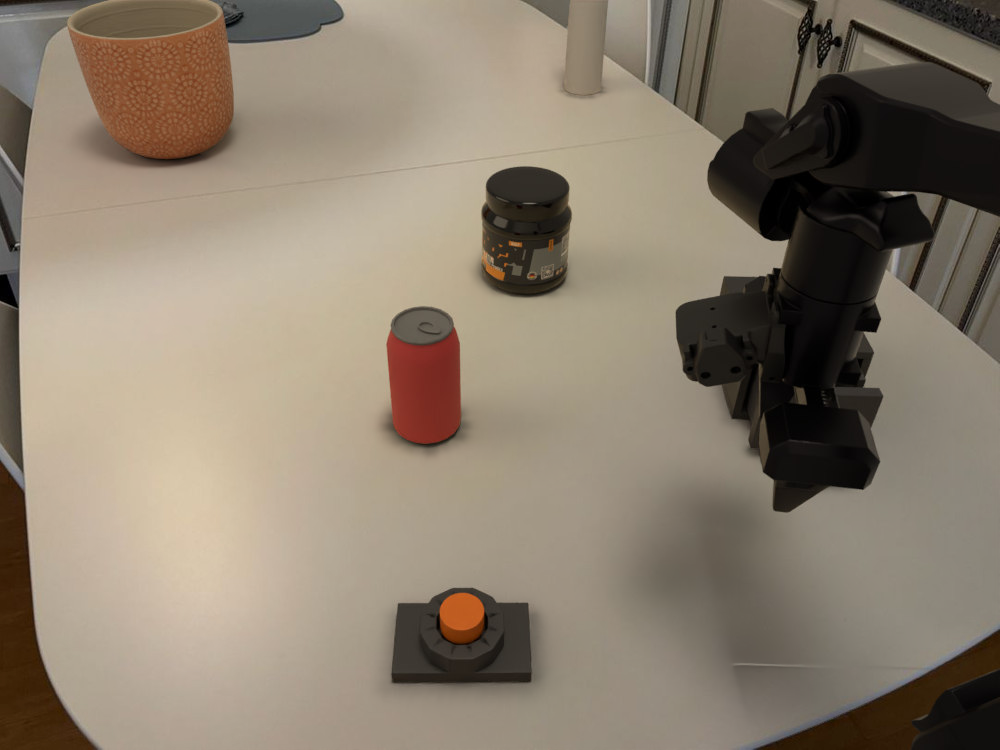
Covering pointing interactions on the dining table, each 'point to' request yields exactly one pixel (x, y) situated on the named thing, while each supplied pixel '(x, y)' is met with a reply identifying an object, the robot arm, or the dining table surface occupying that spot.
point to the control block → (482, 660)
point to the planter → (157, 73)
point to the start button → (462, 618)
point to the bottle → (585, 46)
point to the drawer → (847, 397)
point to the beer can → (424, 374)
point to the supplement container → (525, 229)
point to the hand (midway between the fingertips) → (773, 462)
